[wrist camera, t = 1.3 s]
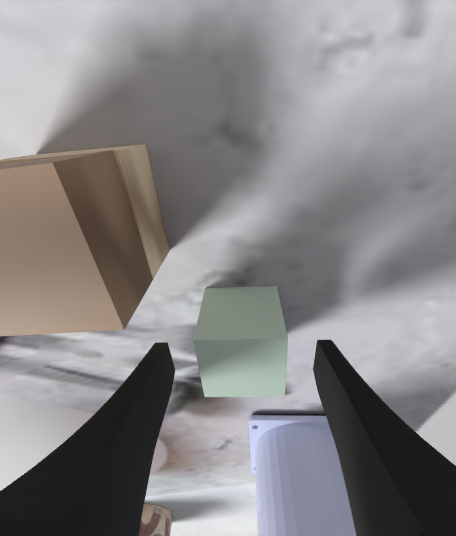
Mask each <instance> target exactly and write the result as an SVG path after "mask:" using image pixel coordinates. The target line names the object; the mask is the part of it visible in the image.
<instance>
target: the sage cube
mask: <svg viewBox="0 0 456 536" xmlns="http://www.w3.org/2000/svg"><path fill="white" fill-rule="evenodd" d="M193 341H194V346H195V351H196V356H197V361H198V366H199V371H200V376H201V381H202V386H203V391H204V395H205V397H285V380H286V363H287V345H288V337H287V332H286V327H285V322H284V317H283V312H282V308H281V303H280V298H279V293H278V288H277V286H255V287H226V288H205V292H204V296H203V300H202V305H201V309H200V313H199V318H198V322H197V327H196V331H195V335H194V340H193Z"/></svg>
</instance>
